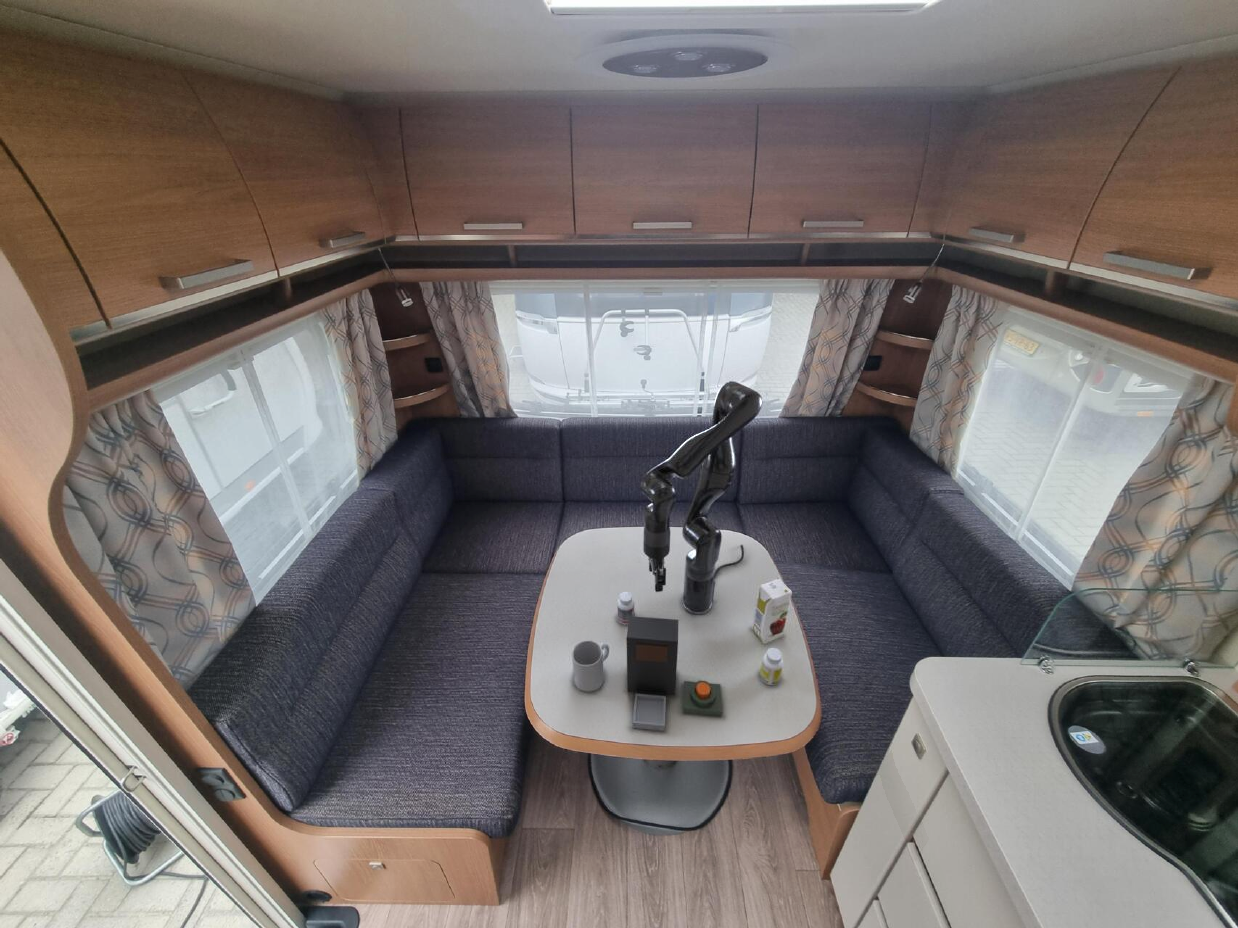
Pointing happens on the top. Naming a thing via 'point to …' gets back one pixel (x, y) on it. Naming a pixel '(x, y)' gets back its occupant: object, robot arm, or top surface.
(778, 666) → the supplement bottle
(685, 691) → the button block
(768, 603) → the juice carton
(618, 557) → the top surface
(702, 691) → the button
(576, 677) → the mug
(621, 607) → the pill bottle
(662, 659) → the coffee maker
